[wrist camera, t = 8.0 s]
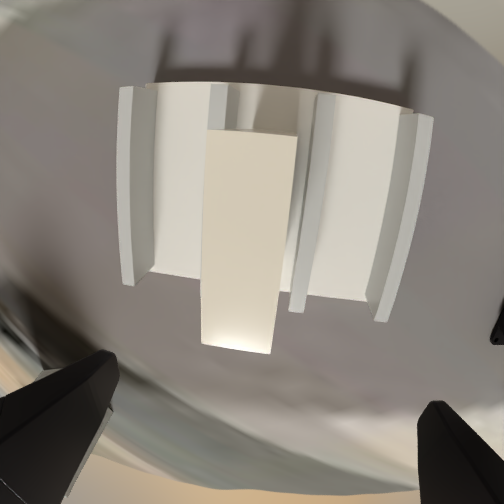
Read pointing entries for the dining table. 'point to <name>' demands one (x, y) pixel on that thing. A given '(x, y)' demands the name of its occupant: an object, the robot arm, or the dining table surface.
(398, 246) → the rack
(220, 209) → the cream rectangular tile
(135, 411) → the dining table surface
